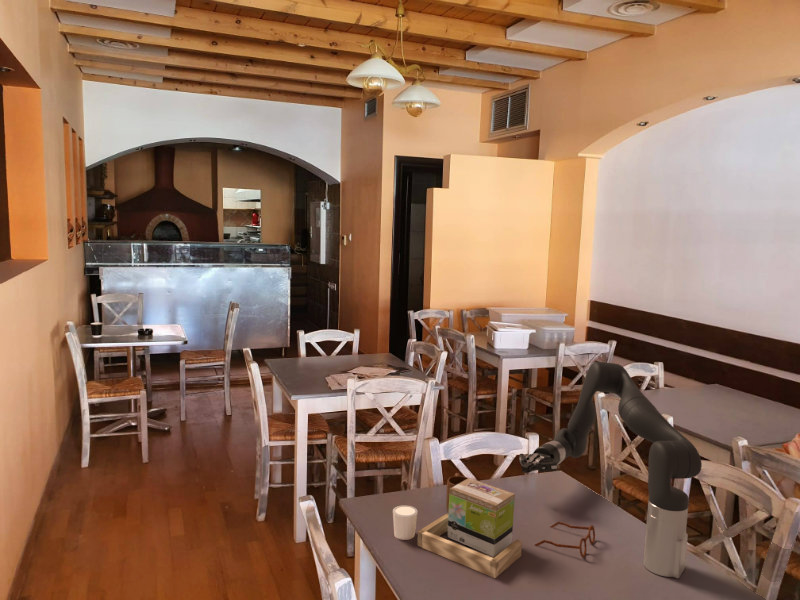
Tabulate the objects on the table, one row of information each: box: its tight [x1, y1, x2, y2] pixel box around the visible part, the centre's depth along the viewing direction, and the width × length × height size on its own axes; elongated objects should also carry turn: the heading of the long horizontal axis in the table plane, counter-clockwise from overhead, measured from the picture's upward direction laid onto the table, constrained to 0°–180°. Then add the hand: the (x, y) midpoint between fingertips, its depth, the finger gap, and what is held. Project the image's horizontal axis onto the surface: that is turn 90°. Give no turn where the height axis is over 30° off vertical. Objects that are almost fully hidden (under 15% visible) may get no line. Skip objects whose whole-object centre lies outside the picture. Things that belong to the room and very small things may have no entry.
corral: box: [416, 513, 523, 579], centre depth 166 cm, size 24×14×4 cm, turn 52°
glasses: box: [534, 521, 596, 558], centre depth 172 cm, size 13×13×5 cm
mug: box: [445, 472, 469, 513], centre depth 191 cm, size 12×8×9 cm, turn 1°
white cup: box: [392, 505, 419, 541], centre depth 173 cm, size 7×7×7 cm
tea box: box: [447, 477, 516, 558], centre depth 170 cm, size 15×10×15 cm, turn 51°
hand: (525, 469), depth 188 cm, fingers closed
